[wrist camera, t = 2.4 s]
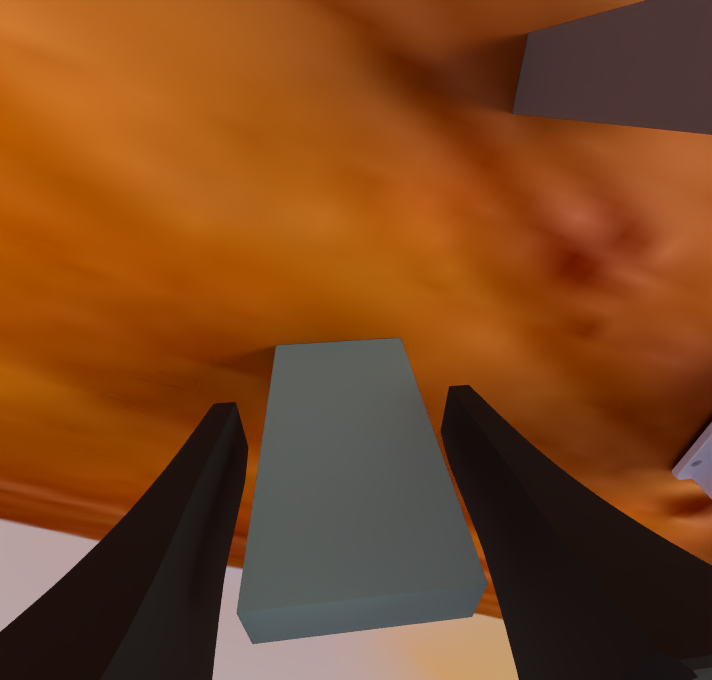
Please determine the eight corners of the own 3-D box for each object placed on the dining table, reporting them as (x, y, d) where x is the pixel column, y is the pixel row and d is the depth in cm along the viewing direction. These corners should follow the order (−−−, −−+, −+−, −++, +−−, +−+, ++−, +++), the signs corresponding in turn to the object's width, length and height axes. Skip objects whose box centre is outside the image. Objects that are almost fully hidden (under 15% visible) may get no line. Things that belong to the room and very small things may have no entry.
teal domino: (397, 371, 14) (472, 616, 7) (281, 379, 14) (252, 644, 7) (400, 337, 13) (487, 583, 7) (276, 345, 13) (236, 613, 6)
